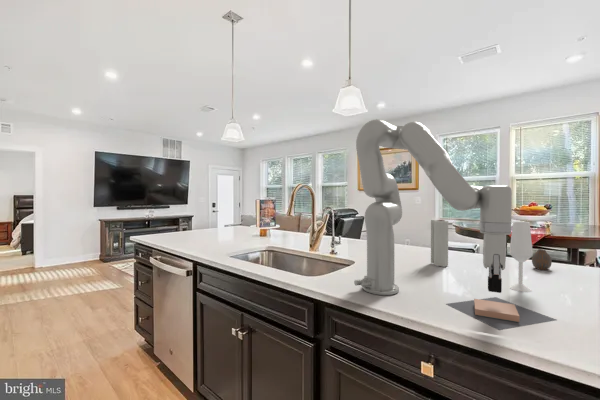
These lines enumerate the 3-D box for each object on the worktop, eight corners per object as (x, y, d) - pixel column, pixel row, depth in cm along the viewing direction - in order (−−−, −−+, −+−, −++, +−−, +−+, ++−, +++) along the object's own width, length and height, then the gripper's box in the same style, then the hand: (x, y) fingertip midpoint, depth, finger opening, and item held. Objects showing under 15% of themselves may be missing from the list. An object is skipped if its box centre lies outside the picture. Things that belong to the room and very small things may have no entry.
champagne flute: (536, 292, 103) (537, 223, 102) (515, 291, 104) (516, 222, 103) (525, 286, 109) (526, 221, 109) (505, 285, 110) (506, 220, 110)
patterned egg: (550, 268, 135) (550, 248, 134) (552, 271, 129) (553, 251, 129) (530, 266, 138) (531, 247, 138) (532, 269, 133) (533, 249, 132)
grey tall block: (450, 266, 138) (450, 220, 137) (437, 267, 138) (437, 220, 137) (443, 263, 145) (443, 219, 144) (430, 263, 145) (430, 219, 145)
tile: (474, 304, 91) (475, 315, 83) (474, 298, 90) (475, 308, 83) (514, 311, 86) (519, 323, 78) (514, 304, 86) (519, 316, 78)
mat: (499, 331, 74) (499, 329, 74) (445, 305, 91) (445, 303, 91) (557, 321, 80) (557, 319, 80) (496, 298, 97) (496, 297, 97)
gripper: (479, 224, 94) (478, 282, 94) (481, 230, 81) (480, 297, 81) (507, 226, 90) (507, 286, 91) (515, 232, 77) (514, 302, 78)
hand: (494, 291), depth 86 cm, fingers closed
